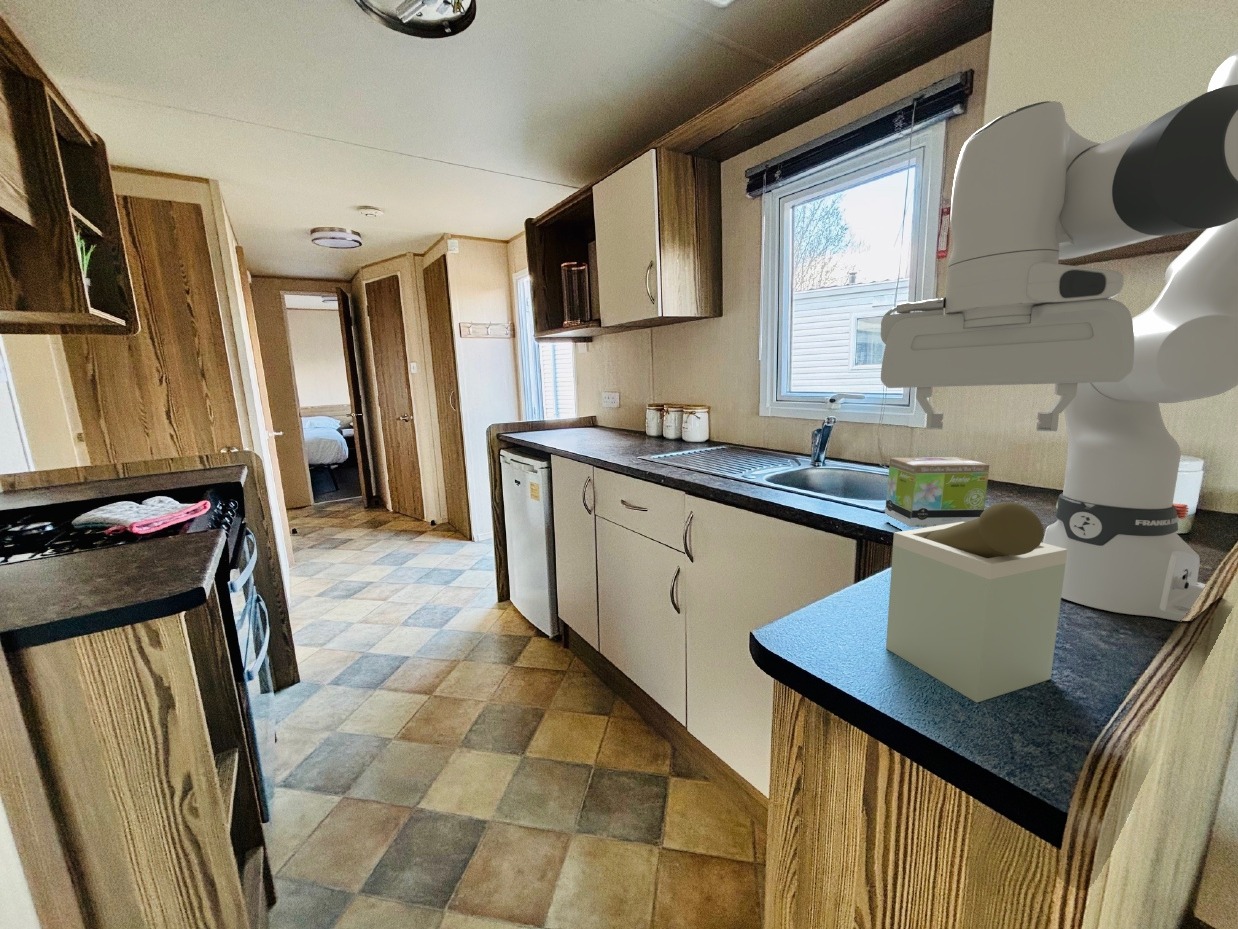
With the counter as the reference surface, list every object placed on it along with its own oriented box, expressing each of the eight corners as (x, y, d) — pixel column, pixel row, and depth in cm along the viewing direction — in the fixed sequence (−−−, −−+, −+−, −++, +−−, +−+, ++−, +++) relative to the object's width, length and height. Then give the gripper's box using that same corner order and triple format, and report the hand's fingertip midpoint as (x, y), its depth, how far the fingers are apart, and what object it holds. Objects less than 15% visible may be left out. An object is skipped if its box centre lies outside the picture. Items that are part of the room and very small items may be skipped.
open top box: (952, 631, 64) (963, 521, 61) (1050, 679, 53) (1067, 549, 51) (885, 648, 60) (893, 532, 58) (976, 702, 50) (990, 564, 47)
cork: (977, 550, 57) (1061, 513, 48) (966, 594, 55) (1052, 565, 45) (927, 522, 59) (999, 481, 49) (914, 564, 56) (986, 529, 46)
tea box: (910, 536, 101) (915, 464, 98) (883, 522, 111) (887, 456, 108) (983, 534, 101) (991, 462, 99) (950, 520, 111) (956, 454, 109)
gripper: (877, 302, 53) (872, 431, 56) (1150, 270, 42) (1129, 435, 44) (885, 307, 58) (881, 425, 61) (1131, 281, 47) (1114, 428, 49)
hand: (987, 429), depth 52 cm, fingers open, 8 cm apart
